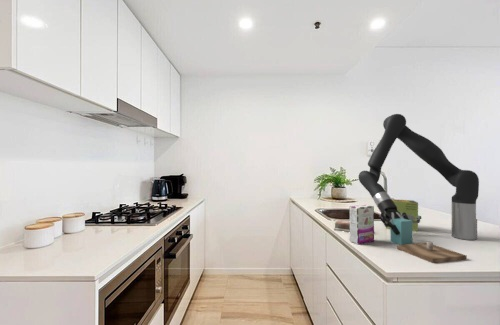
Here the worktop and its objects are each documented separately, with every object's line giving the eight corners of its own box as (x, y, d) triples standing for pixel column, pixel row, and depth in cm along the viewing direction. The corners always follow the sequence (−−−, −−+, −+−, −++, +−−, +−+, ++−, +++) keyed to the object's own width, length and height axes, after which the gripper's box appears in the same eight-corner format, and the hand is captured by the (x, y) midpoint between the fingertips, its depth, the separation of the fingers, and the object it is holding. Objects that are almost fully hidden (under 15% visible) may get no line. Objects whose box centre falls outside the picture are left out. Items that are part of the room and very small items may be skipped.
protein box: (418, 231, 135) (418, 202, 136) (386, 228, 141) (386, 200, 141) (413, 227, 145) (413, 200, 145) (383, 224, 151) (383, 198, 151)
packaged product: (333, 222, 136) (337, 218, 145) (333, 231, 136) (337, 227, 145) (370, 226, 127) (372, 222, 136) (370, 236, 127) (372, 231, 136)
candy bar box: (365, 238, 121) (365, 204, 121) (374, 241, 117) (374, 205, 117) (348, 241, 116) (348, 205, 116) (357, 244, 112) (358, 207, 112)
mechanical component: (422, 236, 126) (422, 216, 126) (399, 234, 128) (399, 215, 129) (419, 234, 129) (419, 214, 129) (397, 233, 131) (397, 214, 131)
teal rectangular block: (401, 240, 118) (401, 218, 118) (412, 244, 112) (412, 220, 112) (390, 241, 117) (390, 218, 117) (401, 245, 111) (401, 221, 111)
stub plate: (427, 246, 110) (427, 235, 110) (466, 259, 95) (466, 247, 95) (397, 248, 107) (397, 238, 107) (432, 263, 91) (432, 250, 91)
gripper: (375, 198, 120) (395, 230, 108) (401, 198, 124) (422, 228, 112) (368, 208, 125) (386, 238, 114) (392, 207, 129) (412, 237, 117)
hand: (404, 233), depth 113 cm, fingers closed on teal rectangular block, 6 cm apart
